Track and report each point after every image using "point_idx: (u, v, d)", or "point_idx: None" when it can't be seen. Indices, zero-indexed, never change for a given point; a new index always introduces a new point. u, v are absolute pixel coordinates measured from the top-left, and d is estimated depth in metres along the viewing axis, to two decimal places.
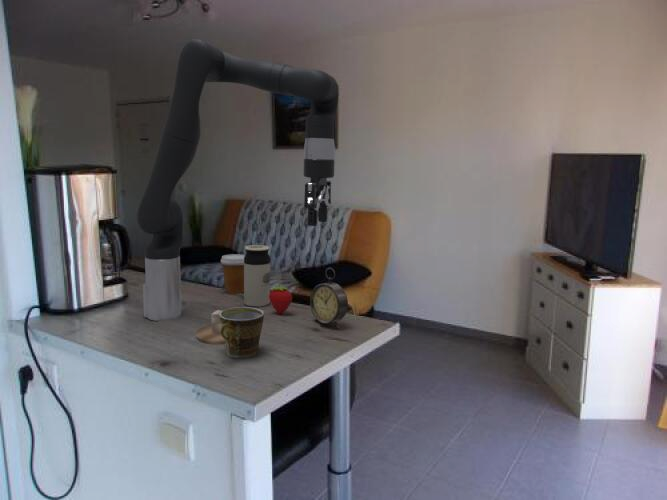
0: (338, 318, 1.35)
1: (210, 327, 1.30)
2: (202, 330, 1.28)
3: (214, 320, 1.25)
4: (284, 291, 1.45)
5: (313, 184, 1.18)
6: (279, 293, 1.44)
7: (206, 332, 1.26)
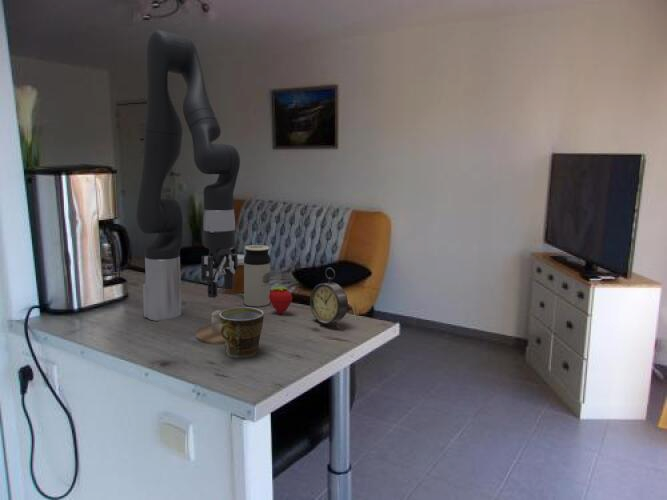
0: (338, 318, 1.35)
1: (210, 327, 1.30)
2: (202, 330, 1.28)
3: (214, 320, 1.25)
4: (284, 291, 1.45)
5: (209, 257, 1.17)
6: (279, 293, 1.44)
7: (206, 332, 1.26)
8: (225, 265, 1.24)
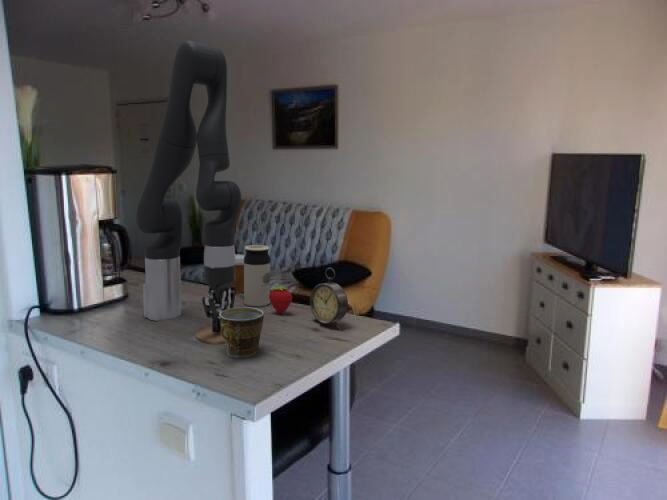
0: (338, 318, 1.35)
1: (210, 327, 1.30)
2: (202, 330, 1.28)
3: None
4: (284, 291, 1.45)
5: (210, 300, 1.19)
6: (279, 293, 1.44)
7: (206, 332, 1.26)
8: None
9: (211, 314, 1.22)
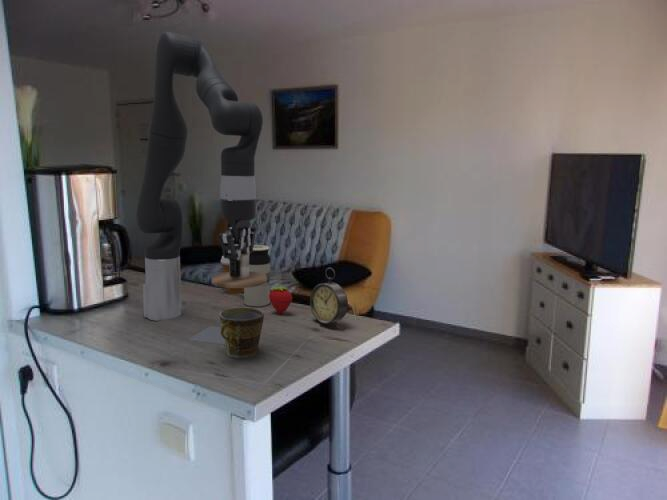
0: (338, 318, 1.35)
1: (227, 273, 1.15)
2: (218, 276, 1.13)
3: None
4: (284, 291, 1.45)
5: (228, 237, 1.04)
6: (279, 293, 1.44)
7: (223, 277, 1.11)
8: None
9: (229, 254, 1.07)
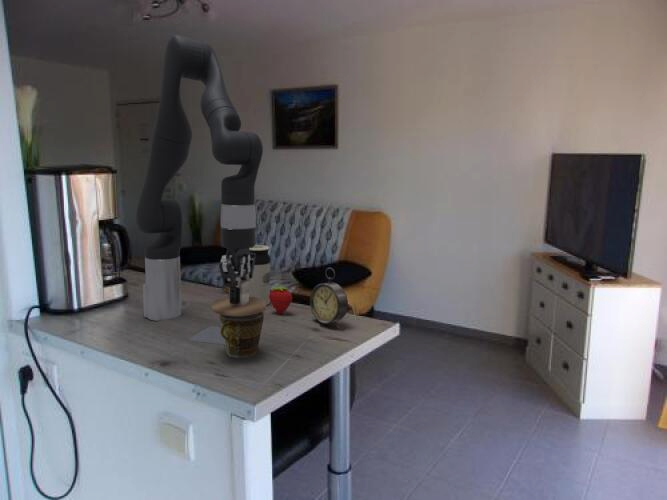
0: (338, 318, 1.35)
1: (227, 299, 1.16)
2: (218, 302, 1.14)
3: None
4: (284, 291, 1.45)
5: (228, 266, 1.05)
6: (279, 293, 1.44)
7: (223, 304, 1.12)
8: None
9: (229, 282, 1.08)
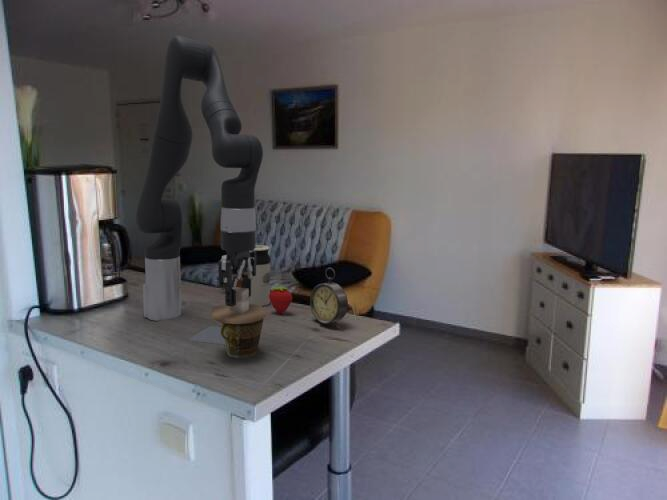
0: (338, 318, 1.35)
1: (227, 306, 1.16)
2: (218, 309, 1.14)
3: None
4: (284, 291, 1.45)
5: (227, 263, 1.05)
6: (279, 293, 1.44)
7: (223, 311, 1.13)
8: (243, 269, 1.12)
9: (224, 284, 1.06)
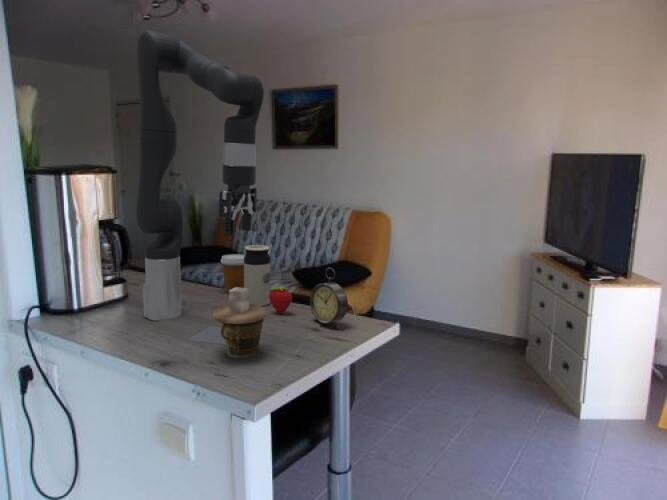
0: (338, 318, 1.35)
1: (227, 306, 1.16)
2: (218, 309, 1.14)
3: (232, 298, 1.12)
4: (284, 291, 1.45)
5: (228, 192, 1.11)
6: (279, 293, 1.44)
7: (223, 311, 1.13)
8: (244, 204, 1.18)
9: (224, 213, 1.12)
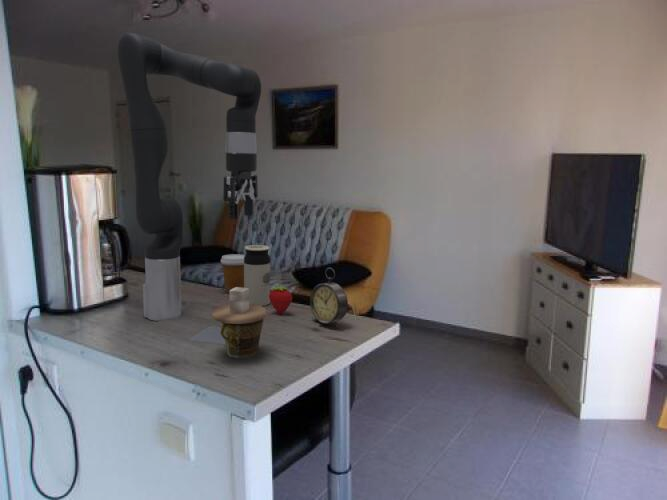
0: (338, 318, 1.35)
1: (227, 306, 1.17)
2: (219, 309, 1.14)
3: (232, 298, 1.12)
4: (284, 291, 1.45)
5: (232, 177, 1.19)
6: (279, 293, 1.44)
7: (223, 311, 1.13)
8: (246, 189, 1.26)
9: (228, 197, 1.20)
